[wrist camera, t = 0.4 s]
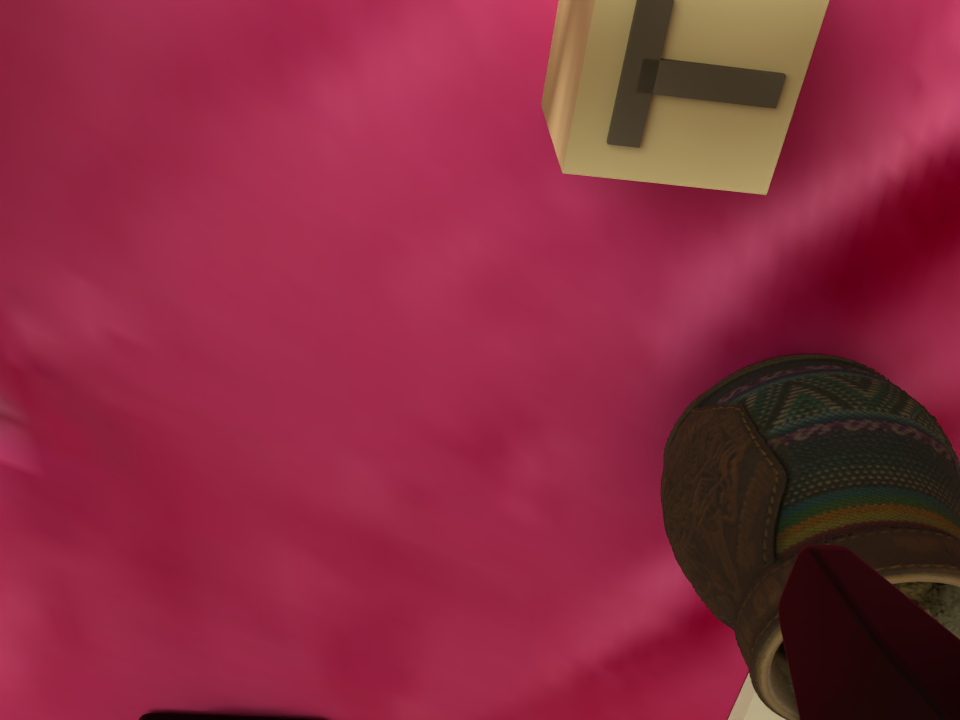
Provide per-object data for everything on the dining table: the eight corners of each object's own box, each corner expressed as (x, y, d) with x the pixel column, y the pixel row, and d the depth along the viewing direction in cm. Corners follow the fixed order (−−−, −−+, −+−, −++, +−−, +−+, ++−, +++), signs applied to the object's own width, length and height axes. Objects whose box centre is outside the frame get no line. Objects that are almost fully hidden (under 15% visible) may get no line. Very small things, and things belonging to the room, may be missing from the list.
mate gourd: (953, 343, 25) (1215, 654, 16) (824, 540, 29) (982, 868, 20) (703, 290, 23) (852, 599, 15) (606, 504, 27) (681, 839, 19)
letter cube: (713, 123, 21) (768, 198, 18) (540, 103, 21) (563, 176, 17) (765, -66, 19) (840, -23, 15) (574, -93, 18) (607, -55, 15)
